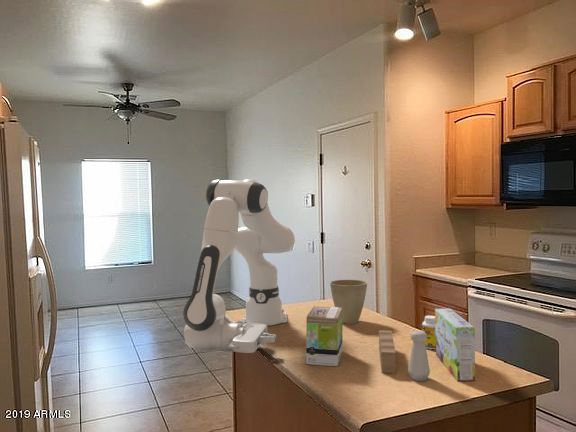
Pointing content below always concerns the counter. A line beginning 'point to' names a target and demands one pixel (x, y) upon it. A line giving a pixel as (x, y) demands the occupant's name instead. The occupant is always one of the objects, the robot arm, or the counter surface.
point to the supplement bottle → (429, 332)
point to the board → (387, 352)
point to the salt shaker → (419, 357)
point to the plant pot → (349, 298)
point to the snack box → (455, 344)
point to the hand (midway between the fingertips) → (275, 338)
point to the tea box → (324, 336)
